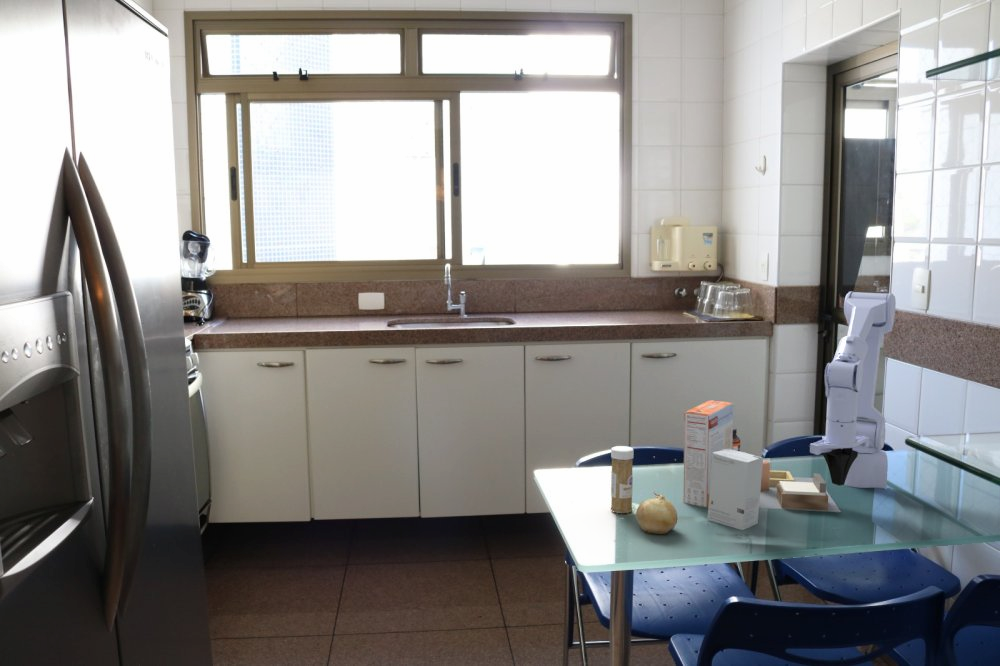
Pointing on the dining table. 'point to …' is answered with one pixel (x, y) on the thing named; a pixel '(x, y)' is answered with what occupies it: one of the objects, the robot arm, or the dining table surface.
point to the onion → (656, 515)
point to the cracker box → (704, 446)
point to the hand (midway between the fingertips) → (837, 483)
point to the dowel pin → (765, 476)
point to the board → (769, 496)
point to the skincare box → (735, 488)
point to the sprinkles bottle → (621, 479)
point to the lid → (805, 486)
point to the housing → (801, 500)
